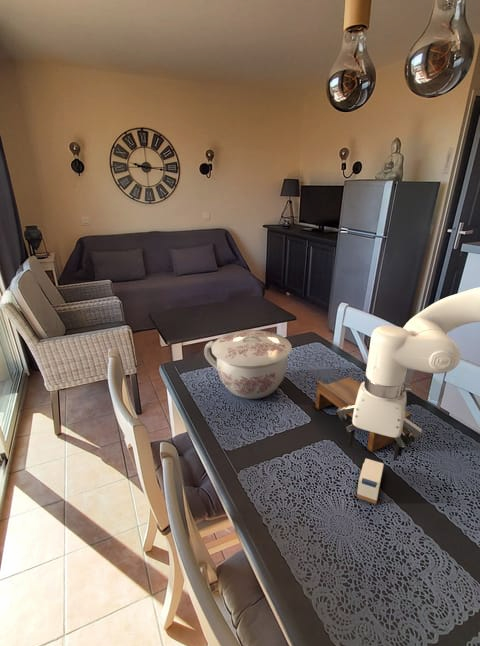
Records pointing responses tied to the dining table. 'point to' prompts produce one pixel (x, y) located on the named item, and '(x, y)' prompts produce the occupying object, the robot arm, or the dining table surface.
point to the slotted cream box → (370, 480)
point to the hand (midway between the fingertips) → (372, 449)
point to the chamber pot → (250, 361)
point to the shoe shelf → (346, 395)
